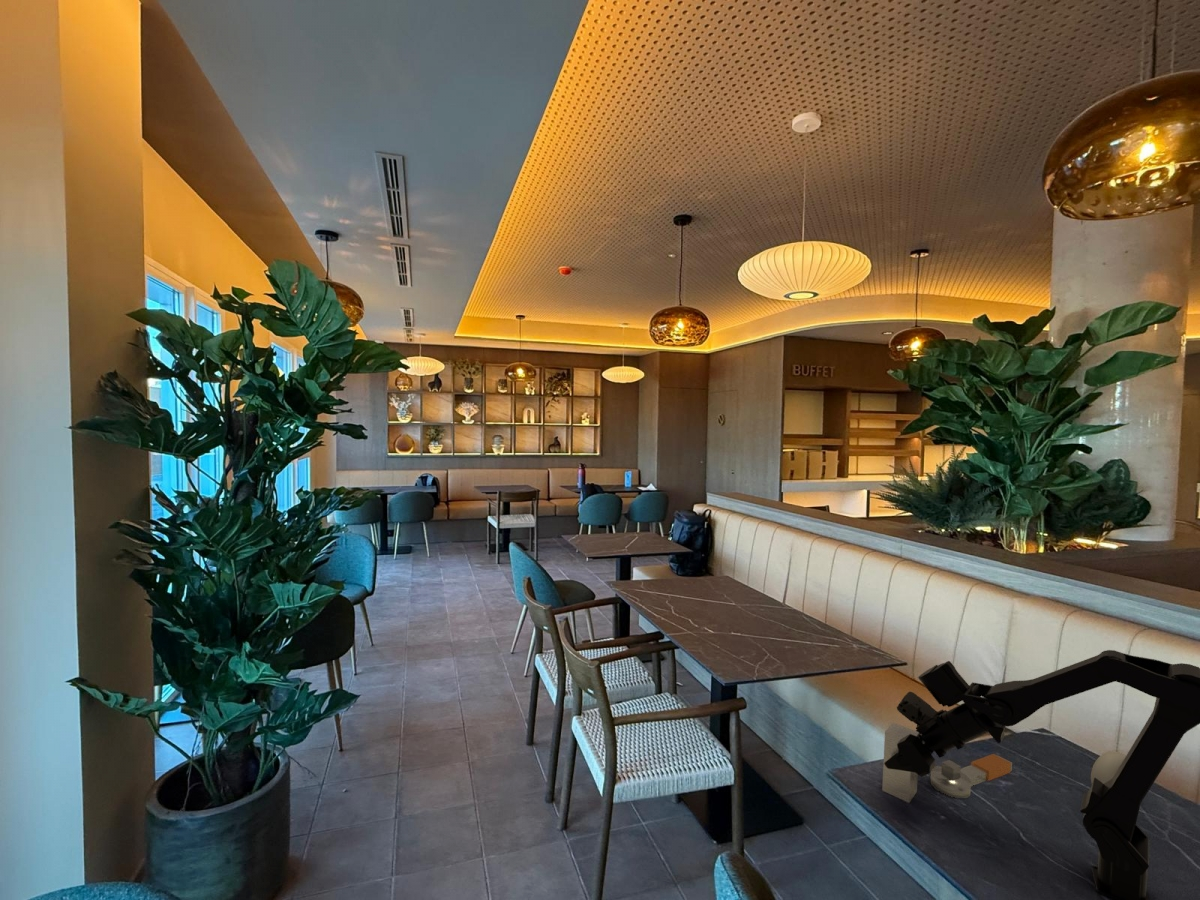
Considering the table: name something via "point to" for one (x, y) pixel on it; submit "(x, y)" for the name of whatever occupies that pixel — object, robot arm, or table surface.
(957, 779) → the ratchet
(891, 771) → the tall beige block
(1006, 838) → the table surface
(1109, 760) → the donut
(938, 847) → the table surface
